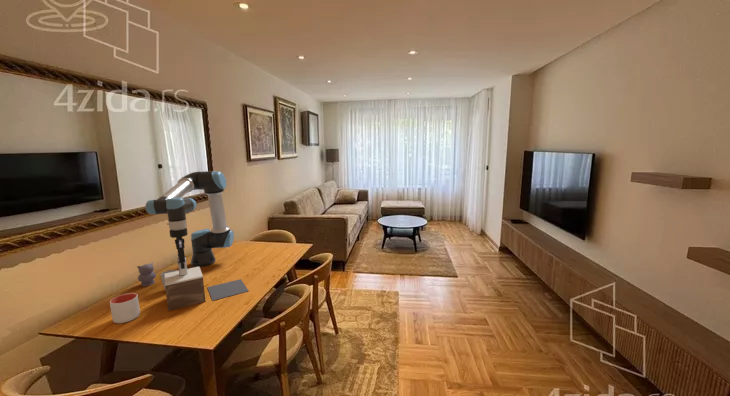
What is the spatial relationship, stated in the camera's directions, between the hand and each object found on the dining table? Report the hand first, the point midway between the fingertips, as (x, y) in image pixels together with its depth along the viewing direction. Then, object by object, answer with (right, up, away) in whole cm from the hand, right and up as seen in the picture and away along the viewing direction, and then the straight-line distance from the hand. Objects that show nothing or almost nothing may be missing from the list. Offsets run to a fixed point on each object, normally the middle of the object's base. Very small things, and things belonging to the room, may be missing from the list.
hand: (183, 272), depth 151 cm
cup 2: (-16, -14, +14) cm, 25 cm away
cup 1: (-17, -18, -14) cm, 29 cm away
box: (0, -15, +2) cm, 15 cm away
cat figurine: (-34, -13, +22) cm, 43 cm away
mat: (+17, -13, +14) cm, 25 cm away
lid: (0, -3, 0) cm, 3 cm away
